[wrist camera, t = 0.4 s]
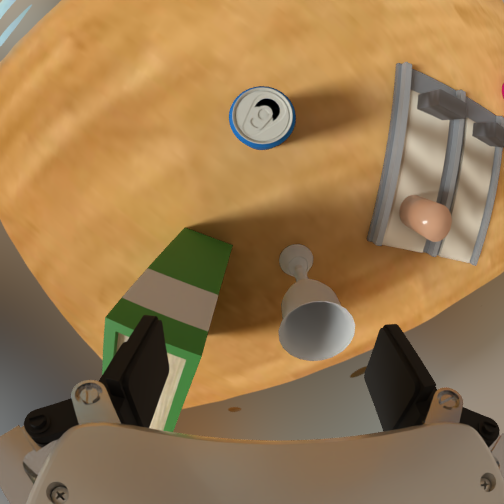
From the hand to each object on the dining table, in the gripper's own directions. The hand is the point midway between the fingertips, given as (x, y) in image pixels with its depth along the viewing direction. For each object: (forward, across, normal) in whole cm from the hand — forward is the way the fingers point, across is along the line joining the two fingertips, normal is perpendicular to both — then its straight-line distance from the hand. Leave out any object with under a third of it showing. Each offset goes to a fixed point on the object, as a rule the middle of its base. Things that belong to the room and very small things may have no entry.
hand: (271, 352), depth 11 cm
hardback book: (+30, +10, +13) cm, 34 cm away
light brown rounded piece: (+28, -22, -2) cm, 36 cm away
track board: (+30, -29, -9) cm, 42 cm away
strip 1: (+29, -23, -8) cm, 38 cm away
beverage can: (+30, +1, -11) cm, 32 cm away
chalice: (+30, -5, +7) cm, 31 cm away
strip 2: (+29, -35, -6) cm, 46 cm away
